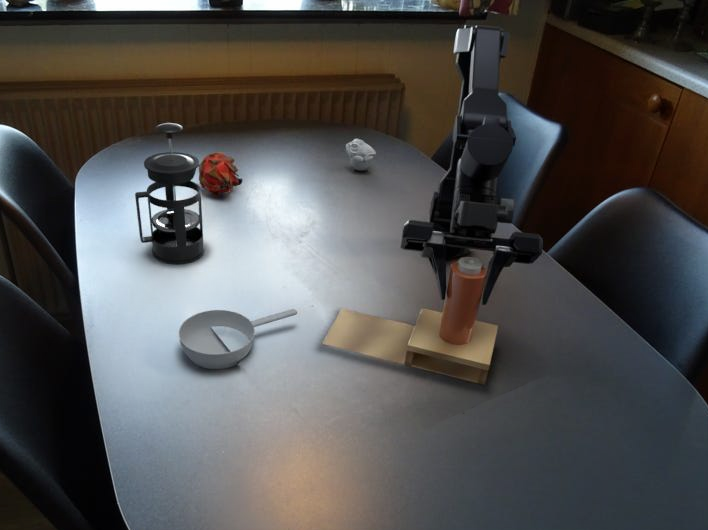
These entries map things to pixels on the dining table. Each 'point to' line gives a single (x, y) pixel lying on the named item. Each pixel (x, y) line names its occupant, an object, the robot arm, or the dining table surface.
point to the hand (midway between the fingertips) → (463, 302)
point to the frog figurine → (360, 154)
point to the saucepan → (207, 344)
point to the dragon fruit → (218, 174)
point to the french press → (173, 205)
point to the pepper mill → (462, 300)
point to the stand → (415, 343)
